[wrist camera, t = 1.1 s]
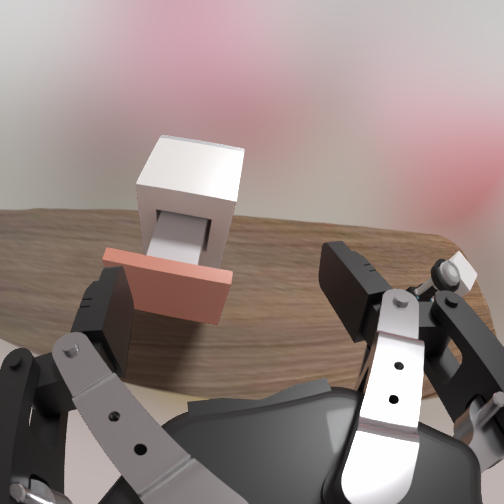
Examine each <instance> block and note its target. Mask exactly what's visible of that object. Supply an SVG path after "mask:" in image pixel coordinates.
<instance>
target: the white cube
mask: <svg viewBox="0 0 504 504" xmlns="http://www.w3.org/2000/svg"><path fill="white" fill-rule="evenodd" d="M448 261H451V262H453V263H454V264H455V265H456V267H457V268H458V270H459V273H460V286H459V288H458V290H457V291H455V292H454V293H456V294H458V295H459V296H461V297H462V296H464V295H465V294H466V293H468V292H469V291H470V290H471V288H472V286H473V283H474V281H475V279H476V277H477V273H476V272H475V271H474V269H473V268H472V267H471V265H470V264H469V263H468V261H467V260H466V259H465V258H464V256H463V255H462V254H461V253H460V251H458V252H457V253H456V254H455V255H454V256H453V257H452V258H450V259H449V260H448Z"/></svg>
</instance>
